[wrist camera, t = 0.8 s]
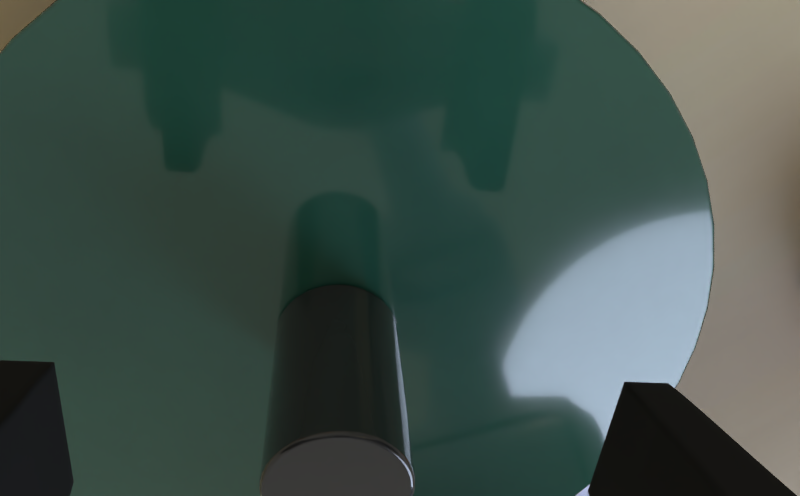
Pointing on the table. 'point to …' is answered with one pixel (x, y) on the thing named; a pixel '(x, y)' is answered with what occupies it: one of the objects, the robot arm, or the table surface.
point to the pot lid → (344, 241)
